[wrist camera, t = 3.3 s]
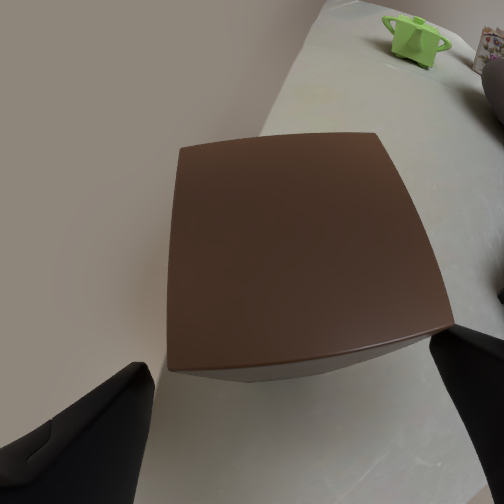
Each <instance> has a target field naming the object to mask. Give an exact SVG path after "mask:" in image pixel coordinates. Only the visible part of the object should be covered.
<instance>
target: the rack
mask: <svg viewBox="0 0 504 504" xmlns="http://www.w3.org/2000/svg"><path fill="white" fill-rule="evenodd" d="M498 298H499V299H500V301H501V303H502V304H504V289H502V290H501V291H500V293H499V295H498Z"/></svg>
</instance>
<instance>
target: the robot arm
mask: <svg viewBox="0 0 504 504" xmlns="http://www.w3.org/2000/svg"><path fill="white" fill-rule="evenodd" d="M429 349H430V352H431V354H432V357H433V359H434V361H435V364H436V366H437V368H438V371H439V373H440V375H441V378H442V380H443V383H444V385H445V387H446V389H447V391H448V393H449V395H450V397H451V399H452V401H453V403H454V405H455V407H456V409H457V411H458V413H459V415H460V417H461V419H462V421H463V423H464V425H465V427H466V429H467V432H468V434H469V436H470V438H471V441H472V443H473V445H474V448H475V450H476V452H477V455H478V457H479V460H480V462H481V465H482V468H483V470H484V473H485V476H486V477H487V478H486V479H487V482H488V485H489V488H490V491H491V494H492V497H493V500H494V504H504V340H501V339H498V338H495V337H492V336H489V335H487V334H484V333H481V332H478V331H475V330H472V329H469V328H466V327H463V326H460V325H457V324H454V325H453V326H452V327H450V328H448V329H446V330H444V331H441V332H439V333H437V334H435V335H432V336H431V340H430V344H429ZM154 391H155V384H154V380H153V378H152V376H151V373H150V371H149V369H148V366H147V365H146V363H144V362H132V363H130V364H129V365H128V366H126V367H125V368H123V369H122V370H120V371H119V372H118V373H116V374H115V375H114V376H112V377H111V378H110V379H108V380H106V381H105V382H104V383H102V384H101V385H99V386H98V387H96V388H95V389H94V390H92V391H91V392H89V393H88V394H86V395H85V396H84V397H82V398H81V399H79V400H78V401H77V402H75V403H74V404H72V405H71V406H69V407H68V408H66V409H65V410H63V411H62V412H61V413H59V414H57V415H56V416H55V417H53V418H52V420H49V421H47V422H46V423H44V424H43V425H41V426H40V427H38V428H37V429H35V430H34V431H32V432H30V433H28V434H27V435H25V436H23V437H21V438H19V439H18V440H16V441H14V442H12V443H10V444H8V445H6V446H4V447H2V448H0V504H133V502H134V497H135V492H136V487H137V482H138V477H139V472H140V468H141V463H142V459H143V455H144V450H145V446H146V442H147V438H148V433H149V428H150V422H151V413H152V406H153V398H154Z"/></svg>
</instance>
